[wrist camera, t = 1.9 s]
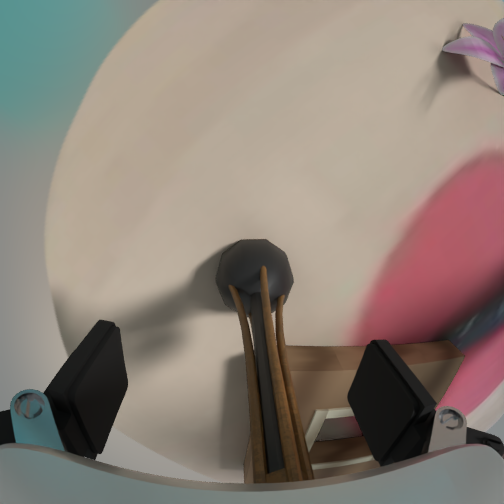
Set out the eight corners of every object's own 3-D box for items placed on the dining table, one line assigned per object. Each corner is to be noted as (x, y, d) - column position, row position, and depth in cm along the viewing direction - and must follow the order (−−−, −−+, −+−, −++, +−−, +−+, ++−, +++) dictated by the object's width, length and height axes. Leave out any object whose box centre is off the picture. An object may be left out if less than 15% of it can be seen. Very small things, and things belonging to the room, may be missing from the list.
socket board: (448, 340, 21) (466, 357, 18) (383, 451, 26) (391, 468, 23) (267, 344, 20) (272, 372, 16) (243, 465, 24) (244, 487, 21)
